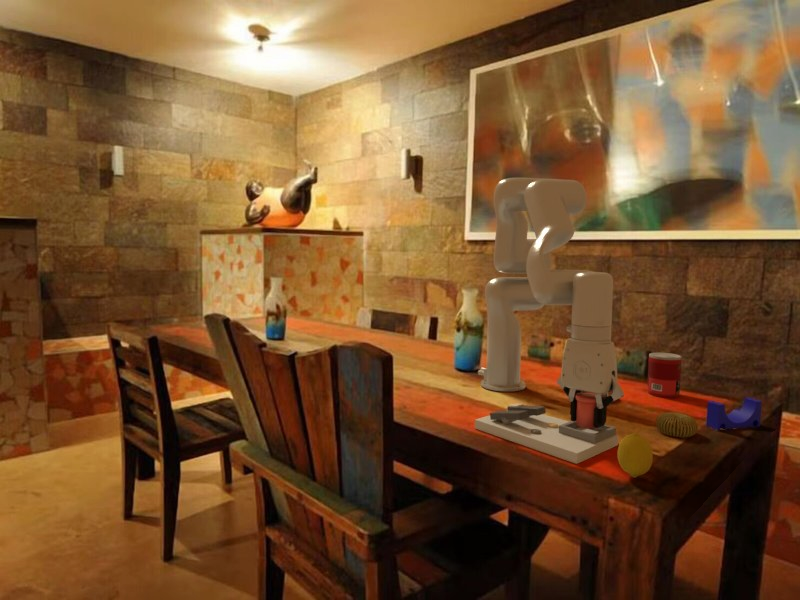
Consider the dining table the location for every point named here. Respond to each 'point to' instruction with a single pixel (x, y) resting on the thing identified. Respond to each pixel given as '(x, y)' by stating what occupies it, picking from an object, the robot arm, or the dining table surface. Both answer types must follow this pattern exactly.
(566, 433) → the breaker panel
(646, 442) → the lemon
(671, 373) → the canned food
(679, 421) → the sculpture
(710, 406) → the blue pipe cradle
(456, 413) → the dining table surface
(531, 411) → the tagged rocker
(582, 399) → the cap
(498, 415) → the plain rocker
